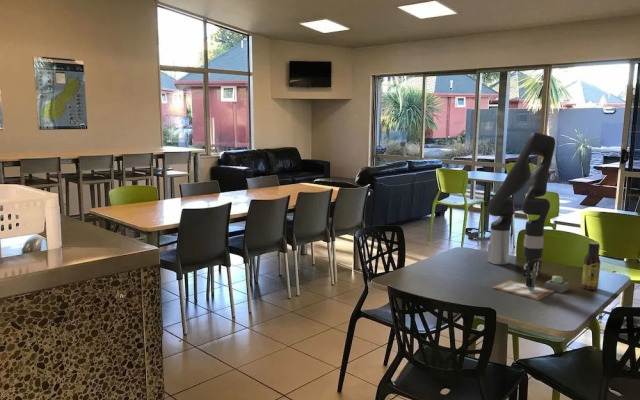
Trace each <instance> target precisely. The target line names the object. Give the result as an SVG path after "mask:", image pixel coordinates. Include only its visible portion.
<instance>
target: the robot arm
mask: <svg viewBox="0 0 640 400" xmlns="http://www.w3.org/2000/svg"><path fill="white" fill-rule="evenodd" d="M555 147H556V139H555V138H554V137H553V136H551V135H547V134H544V133H541V132H537V131H535V132H534V131H533V132H532V133H531V134H529V136H528V138H527V139H526V141H525V142H524V145H523V147H522V149H521V151H520V153H519V155H518V157H517V159H516V161H515V163H514V164H513V165H512V167H511V169H510V170H509V171H508V174H507V175H506V177H505V179H504V180H503V182H502V183H501V185H500V186H499V187H498V189H497V191H496V192H495V193H494V194H493V195H492V197H491V198H490V200H489V202H488V205H487V211H488V214H490V216H493V217H498V219H496V220H495V221H492V222H491V223H490V234H489V235H490V237H489V242H488V245H487V258H486V259H487V261H486V262H488V263H491V264H492V265H501V266H502V265H508V264H509V258H510V257H509V255H510V240H511V239H510V238H511V226H512V223H513V214H514V202H513V200H512V198H511V197H512V196H514V195H515V194H517V193H518V192H520V191H521V190H522V189H523V188H524V187H525V186H526V185H527V183H528V189H527V193H526V195H525V197H524V199H523V202H522V205H521V210H522V212H523V213H524V215H525V214H526V215H529V216H530V215H532V216H533V215H534V216H539V217H538V218H536V219H529V220H527V221H525V222H526V223H525V230H524V238H523V250H522V251H523V253H522V255H523V257H524V258H525V259H526V260H525V264H521V268H522V269H521V270H522V277H524V278H525V283H526V286H528V287H531V286H532V276H533V273H534V271H535V268H536V277H538V275H539V274H540V272H541V268H542V265H543V260H541V259H542V258H543V254H544V241H545V240H544V233H545V232H544V230H545V223H546V219H547V217H548V215H549V212H550V209H551V202H550V201H549V200H548V198H541V197H543V196H545V195H546V193H547V187H548V177H549V173H550V167H551V164H552V160H553V156H554V153H555ZM531 154H533V155H536V156H541V157H542V161H541V162H540V163H539V165H538V166H537V167H535V168H534V170H533V171H531V167H530V162H529V160H530V159H529V158H530V155H531ZM530 270H532V271H530ZM535 285H537V280H536V281H535Z"/></svg>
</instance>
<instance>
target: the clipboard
mask: <svg viewBox="0 0 640 400" xmlns="http://www.w3.org/2000/svg"><path fill="white" fill-rule="evenodd" d="M491 289H492V290H497V291H500V292H504V293H509V294H512V295H516V296H520V297H524V298H528V299H531V300H536V301H540V300H542V299H544V298H546V297H547V296H550V295H551V294H553V293H555V291H553V290H549V289H545V287H539V286H538V285H537V284H536V285H535V287H534V289H529V288H528V286H526V282H525V283H524V282H519V281H515V280H510V279H508V280H506V281H504V282H502V283H501V282H500V283H499V284H497V285H494V286H492V287H491Z"/></svg>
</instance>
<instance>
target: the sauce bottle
mask: <svg viewBox="0 0 640 400" xmlns="http://www.w3.org/2000/svg"><path fill="white" fill-rule="evenodd" d="M599 248H600V243H598V242H593V241H592V242H591V241H589V242H588V251H587V254H586V255H585V257H584V261H583V268H582V276H581V277H582V278H581V288H583V289H585V290H590V291H595V290H597V289H598V286H599V279H600V269H601V260H600V256H599Z"/></svg>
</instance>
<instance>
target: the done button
mask: <svg viewBox="0 0 640 400" xmlns="http://www.w3.org/2000/svg"><path fill="white" fill-rule="evenodd" d="M563 278H564V277H563V276H561V275H552V276H551V279H552V283H554V284H558V285H561V284H562V281H564V280H563Z"/></svg>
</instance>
